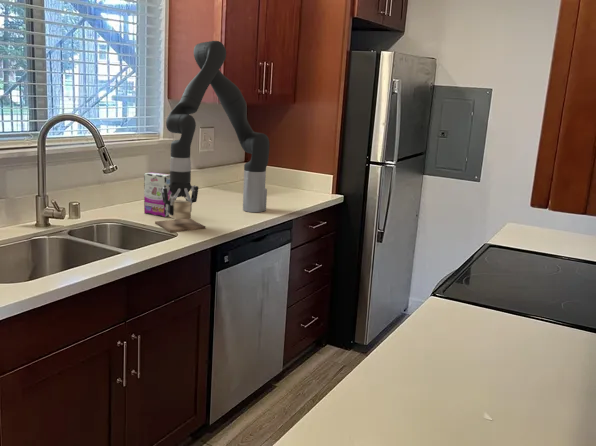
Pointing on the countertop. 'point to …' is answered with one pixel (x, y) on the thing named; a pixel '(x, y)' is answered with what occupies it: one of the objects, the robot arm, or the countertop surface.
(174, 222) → the walnut board
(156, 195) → the candy bar box
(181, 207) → the maple cube
